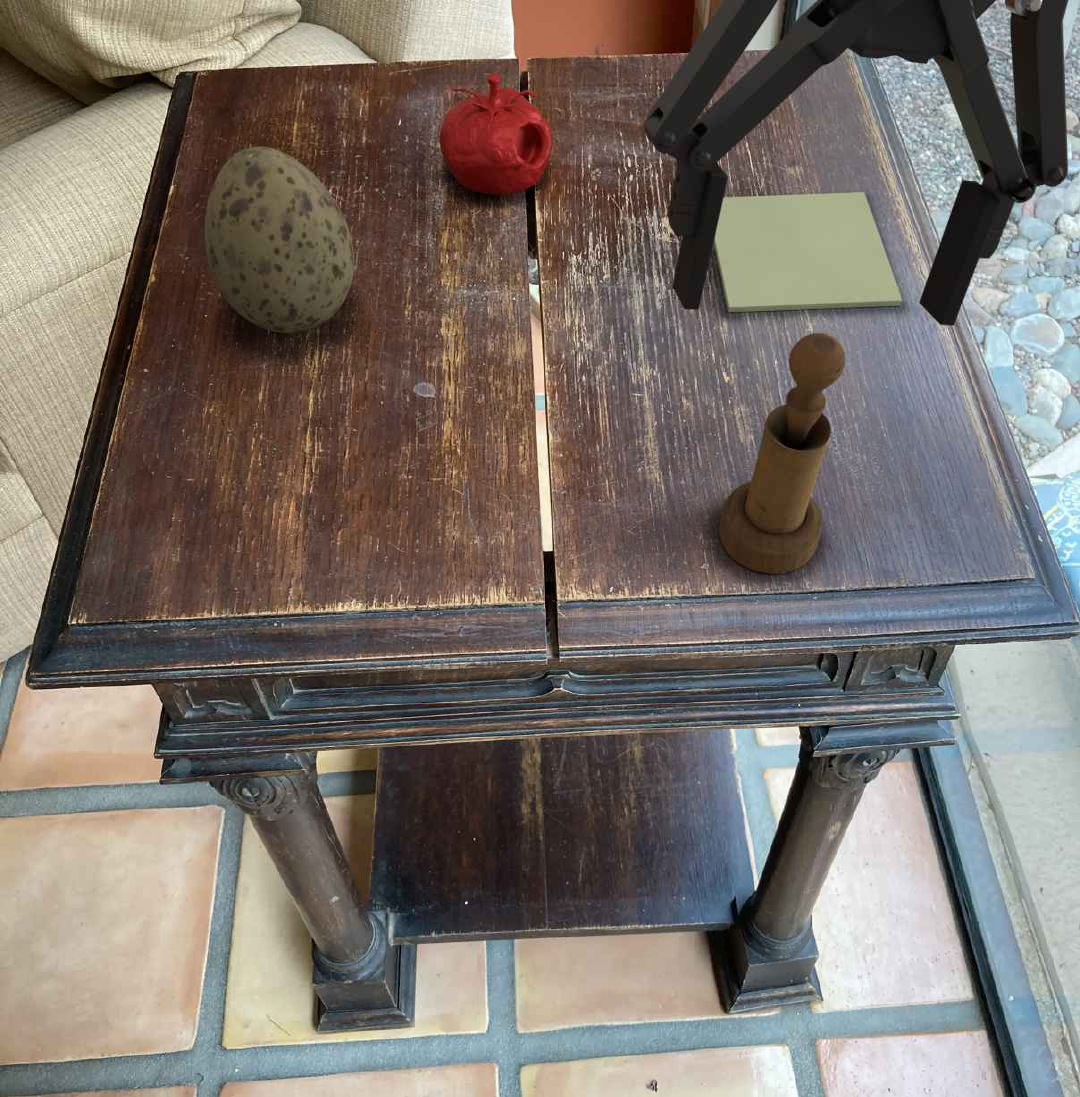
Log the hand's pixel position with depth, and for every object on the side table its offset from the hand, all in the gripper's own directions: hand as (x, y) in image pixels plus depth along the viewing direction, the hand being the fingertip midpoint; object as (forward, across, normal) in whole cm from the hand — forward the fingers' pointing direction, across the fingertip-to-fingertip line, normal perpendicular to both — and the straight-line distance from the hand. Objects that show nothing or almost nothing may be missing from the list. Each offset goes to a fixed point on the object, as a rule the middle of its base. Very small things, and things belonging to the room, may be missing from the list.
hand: (812, 307), depth 54 cm
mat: (+10, -13, -34) cm, 38 cm away
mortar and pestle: (+20, -5, -7) cm, 22 cm away
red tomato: (+10, +11, -48) cm, 50 cm away
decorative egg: (+17, +28, -32) cm, 46 cm away
